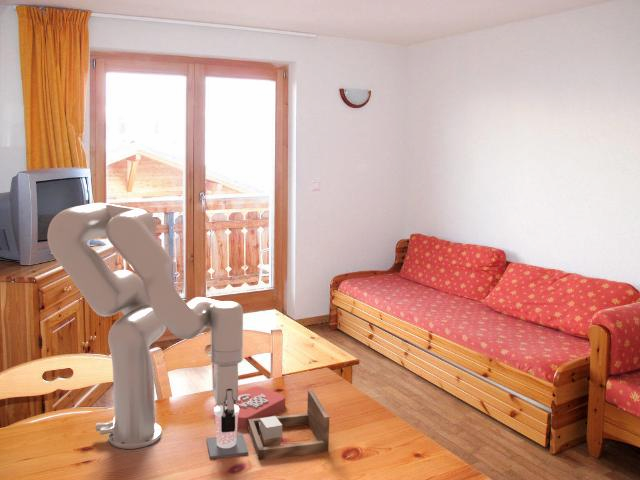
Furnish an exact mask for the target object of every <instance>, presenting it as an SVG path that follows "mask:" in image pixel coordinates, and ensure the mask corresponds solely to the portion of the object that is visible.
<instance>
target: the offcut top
mask: <svg viewBox="0 0 640 480" xmlns="http://www.w3.org/2000/svg"><path fill="white" fill-rule="evenodd" d="M276 416H277V415H270V416H268V417H265V418H260V431H261V432H262V434H263V435H264V437H265V438H266V439H272V438H277V437H280V438H282V437H283V427H282V424H281V423H280V421H279V420H278V419H277V418H276Z"/></svg>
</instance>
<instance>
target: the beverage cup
mask: <svg viewBox="0 0 640 480" xmlns="http://www.w3.org/2000/svg"><path fill="white" fill-rule="evenodd" d="M226 403H227V401H226ZM234 408H235V431H234V432H224V433H223V432H222V431H221V416H223V413H222V405H220V406H218V405H217V406H216V407H215V406H214V408H213V413H214V420H215V421H214V422H215V437H216V438H217V445H218V446H219V447H221V448H231V447H233V446H235V445H236V437H237V433H238V427H237V423H238V414H239V407H238V406H237V405H235V404H234ZM226 409H227V406H225V410H226Z"/></svg>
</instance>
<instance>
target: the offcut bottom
mask: <svg viewBox="0 0 640 480" xmlns="http://www.w3.org/2000/svg"><path fill="white" fill-rule="evenodd" d="M281 438H282V437H277V438H272V439H266V438H265V437H264V435H263V434H262V432H261V435H260V440H261V443H262V446H263V447H270V446H279V445H281Z"/></svg>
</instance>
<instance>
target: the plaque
mask: <svg viewBox="0 0 640 480" xmlns="http://www.w3.org/2000/svg"><path fill="white" fill-rule="evenodd" d="M235 405H237V406H238V407H239V414H238V423H237V428H242V429H248V419H256V418H265V417H271V416H273V414H275V413H278V412H280V411H282V410H284V409H285V408H286V396H285V395H284V394H281V393H278V392H277V391H273V390H271V389H268V388H264V387H262V386H252V387H250V388H248V389H245V390H243V391H238V401H237V403H236V404H235ZM216 406H217V404H216V403H215V404H214V408H215V407H216Z"/></svg>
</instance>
